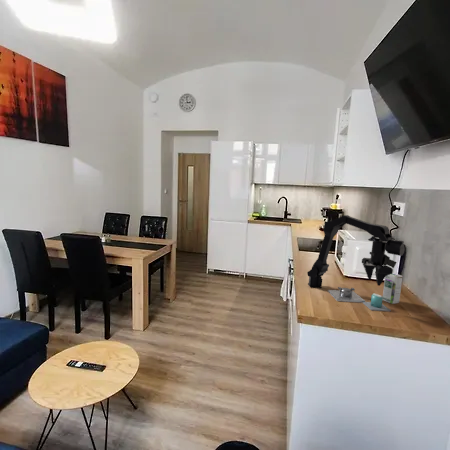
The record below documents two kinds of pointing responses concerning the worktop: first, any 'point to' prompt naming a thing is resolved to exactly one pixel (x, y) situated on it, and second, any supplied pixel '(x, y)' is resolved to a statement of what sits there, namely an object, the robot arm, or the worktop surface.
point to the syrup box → (392, 288)
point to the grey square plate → (346, 295)
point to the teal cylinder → (376, 300)
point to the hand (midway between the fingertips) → (374, 282)
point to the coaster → (375, 307)
